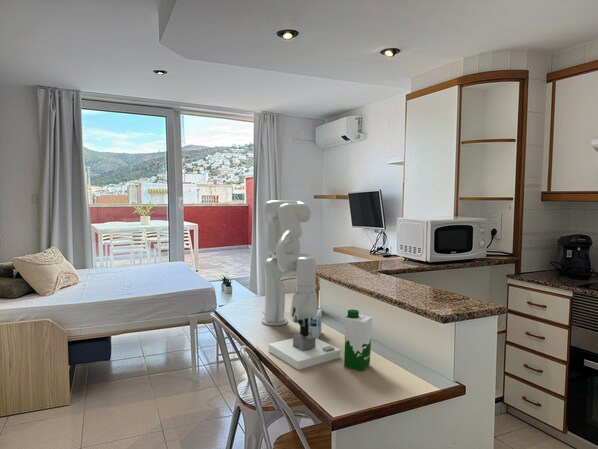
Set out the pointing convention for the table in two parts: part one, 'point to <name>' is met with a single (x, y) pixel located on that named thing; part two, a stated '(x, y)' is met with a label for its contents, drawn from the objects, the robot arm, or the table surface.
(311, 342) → the plug
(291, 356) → the socket
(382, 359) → the table surface
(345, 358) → the milk carton
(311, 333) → the light bulb box
